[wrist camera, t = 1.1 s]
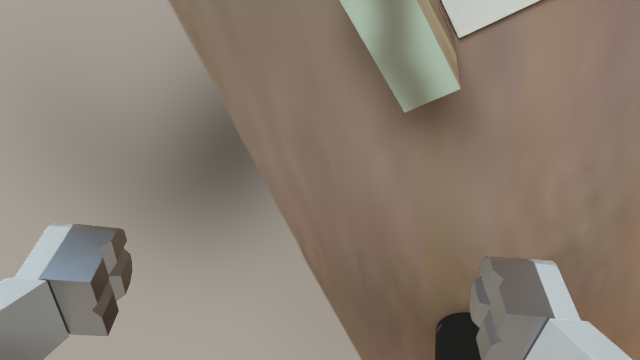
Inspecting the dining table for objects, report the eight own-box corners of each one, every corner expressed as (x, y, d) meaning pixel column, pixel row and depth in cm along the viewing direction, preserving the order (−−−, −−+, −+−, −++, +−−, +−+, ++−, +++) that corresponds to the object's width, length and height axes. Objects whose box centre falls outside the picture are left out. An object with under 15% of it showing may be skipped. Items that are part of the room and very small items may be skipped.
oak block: (397, -81, 43) (393, -47, 35) (453, 37, 49) (460, 88, 41) (346, -50, 45) (332, -12, 38) (406, 59, 51) (404, 112, 43)
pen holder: (474, 301, 73) (480, 365, 65) (509, 334, 77) (520, 398, 69) (420, 323, 78) (421, 384, 70) (456, 352, 81) (461, 414, 74)
